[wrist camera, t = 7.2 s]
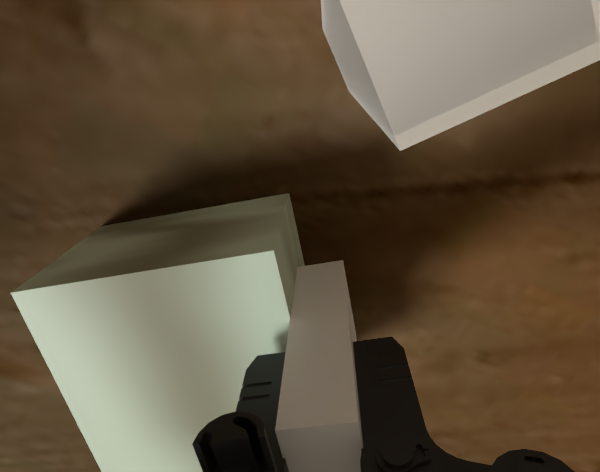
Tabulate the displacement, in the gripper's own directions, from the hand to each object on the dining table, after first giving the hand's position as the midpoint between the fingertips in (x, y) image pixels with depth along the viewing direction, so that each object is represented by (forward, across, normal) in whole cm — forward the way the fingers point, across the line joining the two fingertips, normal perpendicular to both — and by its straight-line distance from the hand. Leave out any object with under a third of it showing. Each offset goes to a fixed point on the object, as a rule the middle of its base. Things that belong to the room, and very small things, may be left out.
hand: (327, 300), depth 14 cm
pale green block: (+2, -4, 0) cm, 5 cm away
